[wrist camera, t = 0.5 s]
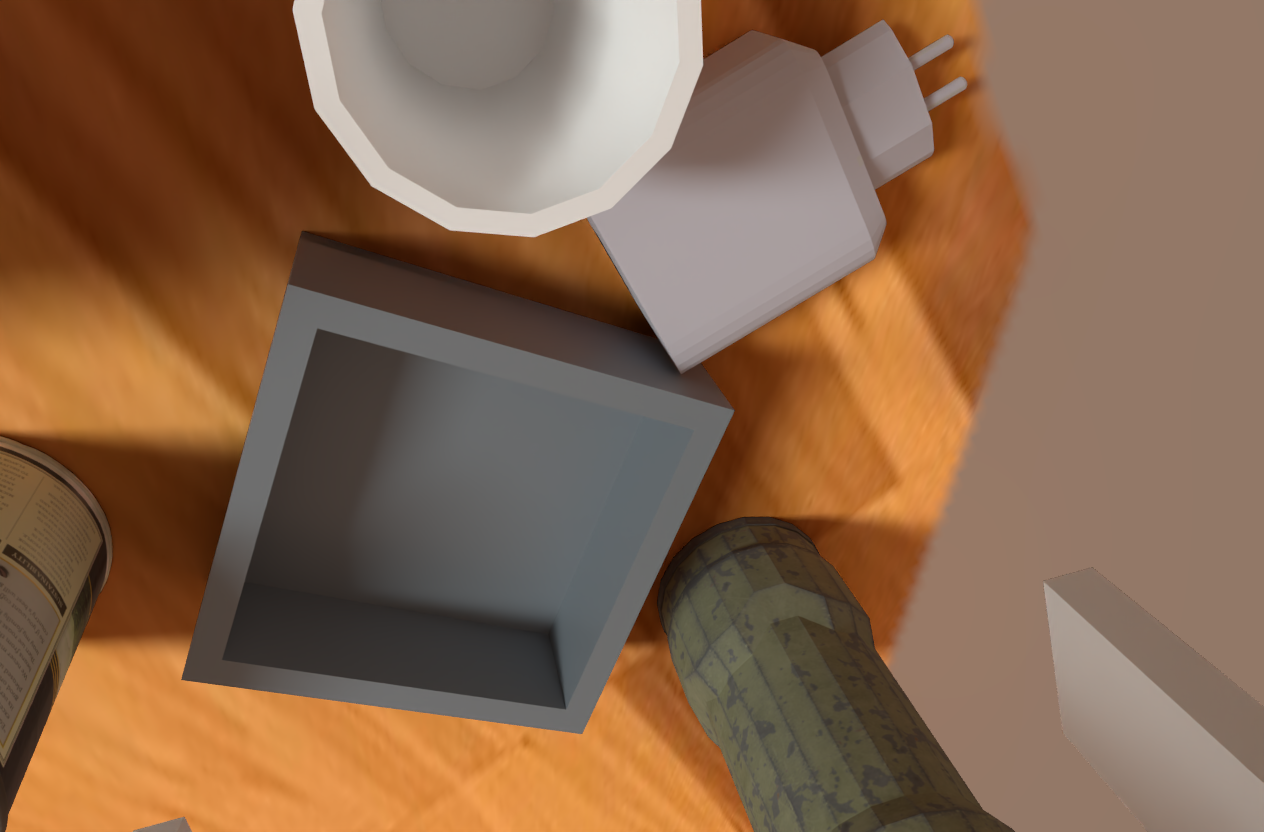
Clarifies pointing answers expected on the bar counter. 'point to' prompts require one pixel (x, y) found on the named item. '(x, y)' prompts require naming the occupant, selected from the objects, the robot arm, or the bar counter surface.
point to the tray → (448, 497)
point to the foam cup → (502, 100)
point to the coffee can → (41, 595)
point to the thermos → (802, 691)
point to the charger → (769, 184)
